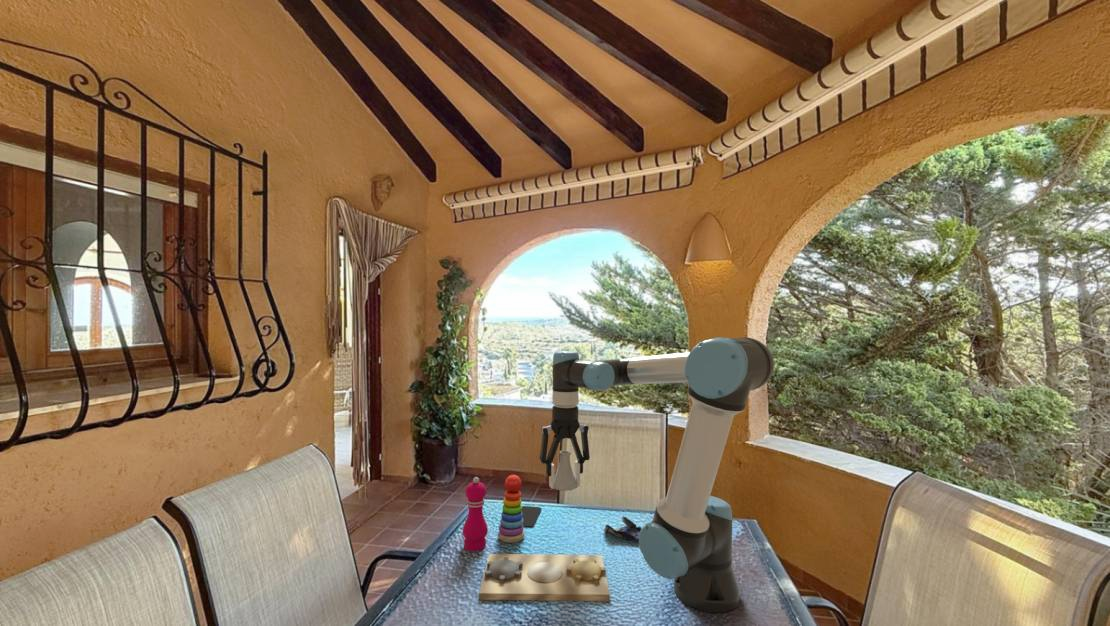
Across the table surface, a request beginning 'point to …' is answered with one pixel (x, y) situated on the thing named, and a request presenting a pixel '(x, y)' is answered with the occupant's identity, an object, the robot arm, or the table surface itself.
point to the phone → (530, 515)
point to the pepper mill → (475, 517)
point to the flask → (564, 473)
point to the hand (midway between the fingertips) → (564, 485)
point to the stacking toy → (511, 512)
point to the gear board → (544, 578)
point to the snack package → (625, 530)
